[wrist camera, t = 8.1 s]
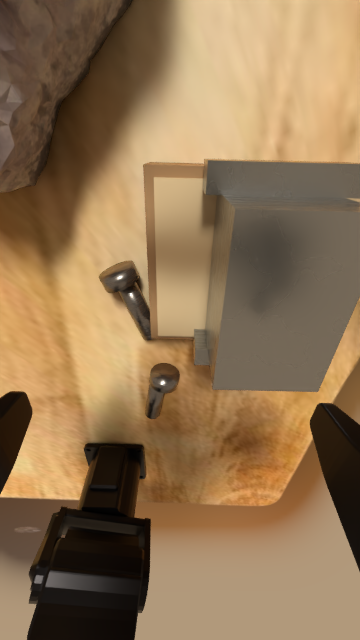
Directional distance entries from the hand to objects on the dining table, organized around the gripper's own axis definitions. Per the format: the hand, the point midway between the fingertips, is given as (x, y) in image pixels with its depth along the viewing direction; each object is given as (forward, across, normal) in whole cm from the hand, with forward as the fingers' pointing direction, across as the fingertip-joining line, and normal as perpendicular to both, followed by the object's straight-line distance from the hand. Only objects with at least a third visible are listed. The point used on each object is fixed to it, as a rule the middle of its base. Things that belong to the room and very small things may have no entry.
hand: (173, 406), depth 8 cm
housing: (+8, -4, -1) cm, 9 cm away
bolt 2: (+11, +2, +12) cm, 17 cm away
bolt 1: (+12, +3, +3) cm, 12 cm away
